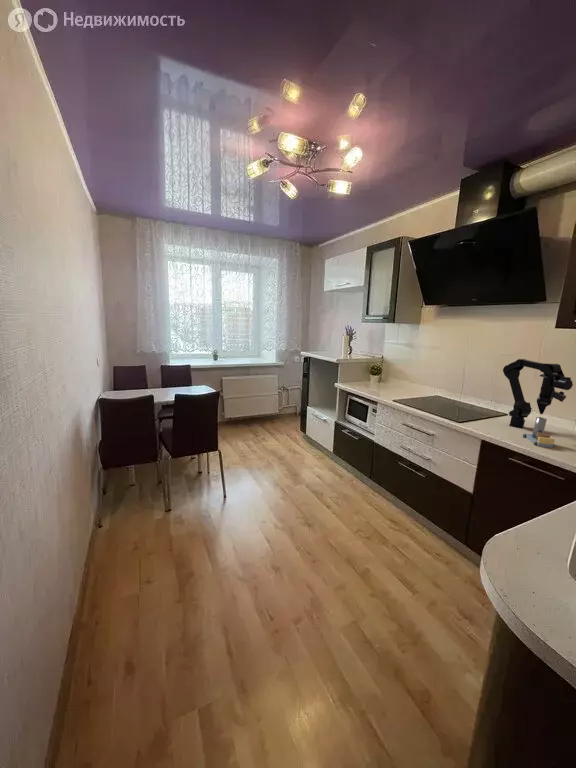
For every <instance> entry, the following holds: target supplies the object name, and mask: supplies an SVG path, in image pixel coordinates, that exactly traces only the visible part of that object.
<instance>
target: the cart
mask: <svg viewBox="0 0 576 768" xmlns="http://www.w3.org/2000/svg"><path fill="white" fill-rule="evenodd" d="M532 434H533V433H526V432H525V433H523V434H522V437H523V438H525V439H527V440H528V441H529V442H531V443H532V444H533V445H534V446H537V447H542V448H550V449H551V448H552V449H553V448H554V447H555V441H556V439H555V438H553V437H550V438H545V437H538V441H537V440H536V438H533V437H532Z"/></svg>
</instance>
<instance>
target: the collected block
mask: <svg viewBox="0 0 576 768" xmlns="http://www.w3.org/2000/svg"><path fill="white" fill-rule="evenodd" d="M538 437H545V438H551V435H550V434H548V433H546V432H544V433H541V432H537V435H536V440H537V441H538Z"/></svg>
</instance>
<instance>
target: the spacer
mask: <svg viewBox="0 0 576 768" xmlns="http://www.w3.org/2000/svg"><path fill="white" fill-rule="evenodd" d="M546 424H547V418H545V417H540V416H536V417H535V422H534V426H533V430H532V433H531V434H532V437H533V438H536V435H537V432H541V433H545V430H546Z"/></svg>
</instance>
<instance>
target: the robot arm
mask: <svg viewBox="0 0 576 768" xmlns="http://www.w3.org/2000/svg"><path fill="white" fill-rule="evenodd" d="M525 367H526V368H530V369H535V370H538V371H540V372H541V373H542V374H540V375H539V377H541V378H542V382H541V386H540V391H539V394H538V397H536V404H537V407H538V411H539V415H544V412H545V410H546V408H547V407H548V406H550V405H552V402H553V400H554V399H555V400H558V401H559V402H561V403H563V402H564V400H565V399H566V398H567V395H566V394H565V392H564V391H569V390H571V389H572V387H573V386H574V384H573V380H572V377H569V376H565V374H564V371H563V369H562V366H561V364H559V363H545V362H544V363H543V362H539V361H534V360H530V359H529V360H528V359H525V358H517V359H516V360H515V361H513V362H511V363H508V364H506V365H504V367H503V368H502V372H503V374H504V376H505V377H506V379H507V380H508V381H509V385H510V389H511V394H512V395H513V400H514V404H513V409H512V410H510V411H509V412H508V415H509V416H510V422H509V424H508V426H509V427H515V428H517V429H523V428H524V427H525V423H526V420H525V418H528V417H529V416H530V414H531V413H532V409H533V408H532V407H531V403H530V402H528V401H526V399H525V397H524V392H523V390H522V386H521V382H520V379H519V378H520V374H521V371H522V370H523V369H524V368H525ZM556 389H561V390H564V391H559V392H558V391H556Z"/></svg>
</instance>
